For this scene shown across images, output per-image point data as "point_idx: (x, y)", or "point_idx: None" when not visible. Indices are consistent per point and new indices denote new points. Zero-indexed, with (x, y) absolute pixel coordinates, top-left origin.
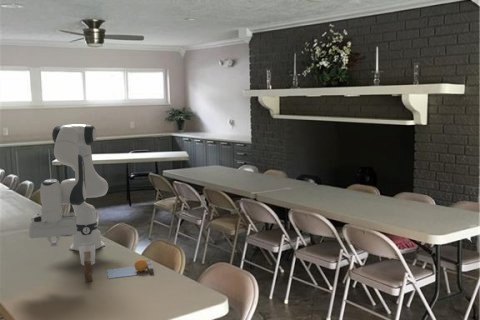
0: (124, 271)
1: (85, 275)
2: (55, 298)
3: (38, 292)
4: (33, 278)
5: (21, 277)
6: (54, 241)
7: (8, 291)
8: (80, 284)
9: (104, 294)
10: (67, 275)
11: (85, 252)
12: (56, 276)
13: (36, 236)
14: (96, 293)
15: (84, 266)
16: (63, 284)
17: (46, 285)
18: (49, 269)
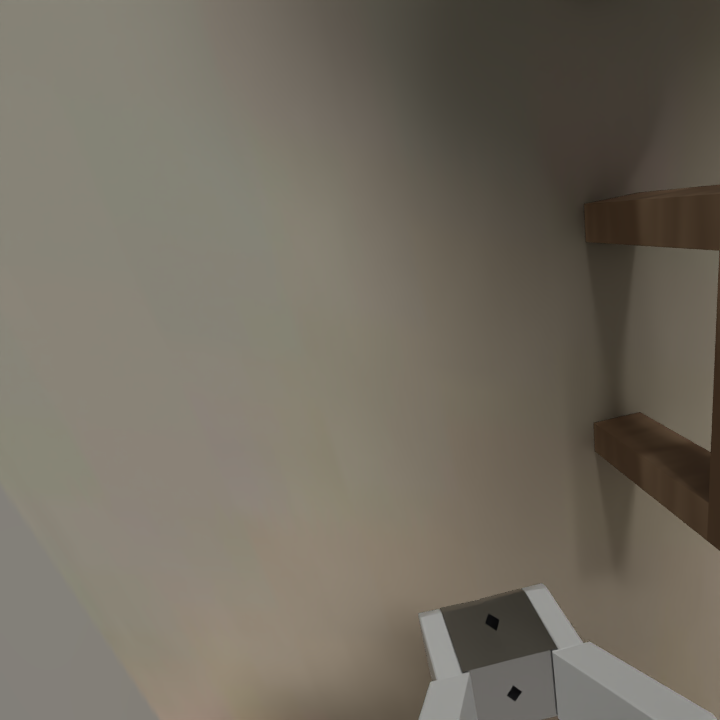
0: None
1: (631, 476)
2: None
3: (315, 595)
4: (160, 311)
5: (25, 265)
6: (516, 658)
7: (87, 568)
8: (564, 486)
9: (699, 640)
10: (444, 277)
11: None
12: (354, 289)
13: None
14: (659, 626)
15: (686, 522)
16: (449, 475)
17: (330, 482)
18: (221, 43)
